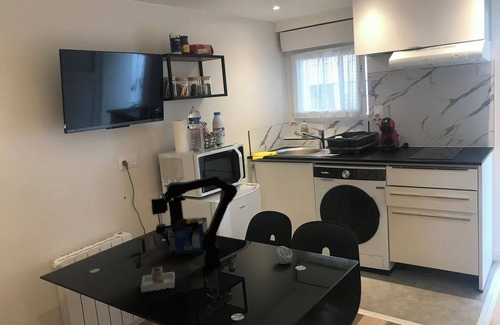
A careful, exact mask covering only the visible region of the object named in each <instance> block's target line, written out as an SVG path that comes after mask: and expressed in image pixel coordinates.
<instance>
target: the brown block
mask: <svg viewBox="0 0 500 325" xmlns="http://www.w3.org/2000/svg"><path fill="white" fill-rule="evenodd" d="M163 273H164V271H163V266H155V267H152V269H151V275H152V280H153V284H158V283H164V277H163Z"/></svg>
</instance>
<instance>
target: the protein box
mask: <svg viewBox="0 0 500 325" xmlns="http://www.w3.org/2000/svg"><path fill="white" fill-rule="evenodd" d="M186 219H187V223H190V220H198V221H199V228H198V229H197V230H196V231H194V233H193V236H192V240H191V244H190V241H189V238H190V227H186V228H183V231H181V232H180V231H178V232H173V237H174V238H173V240H174V248H175V254H176V255H177V254H182V255H183V254H205V251H204V250H203V248H202V247H201V245H200V239H199V238H200V236H201V234H202V231H204V232H205V231H206V230H207V229H208V228H209V227H208V220H207V217H190V218H186Z"/></svg>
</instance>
